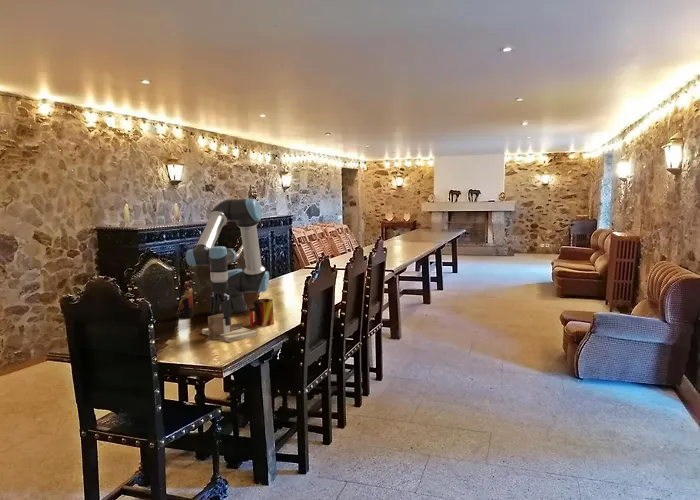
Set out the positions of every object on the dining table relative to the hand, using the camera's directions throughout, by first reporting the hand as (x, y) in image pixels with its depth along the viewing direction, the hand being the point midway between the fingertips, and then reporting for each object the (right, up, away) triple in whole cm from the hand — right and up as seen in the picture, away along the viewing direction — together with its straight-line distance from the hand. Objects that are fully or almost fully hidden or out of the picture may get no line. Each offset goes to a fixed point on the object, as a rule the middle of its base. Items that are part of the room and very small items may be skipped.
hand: (221, 330), depth 222 cm
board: (+2, -3, +6) cm, 6 cm away
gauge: (+2, -3, +4) cm, 5 cm away
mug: (+15, -1, +22) cm, 27 cm away
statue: (-31, 0, +43) cm, 52 cm away
